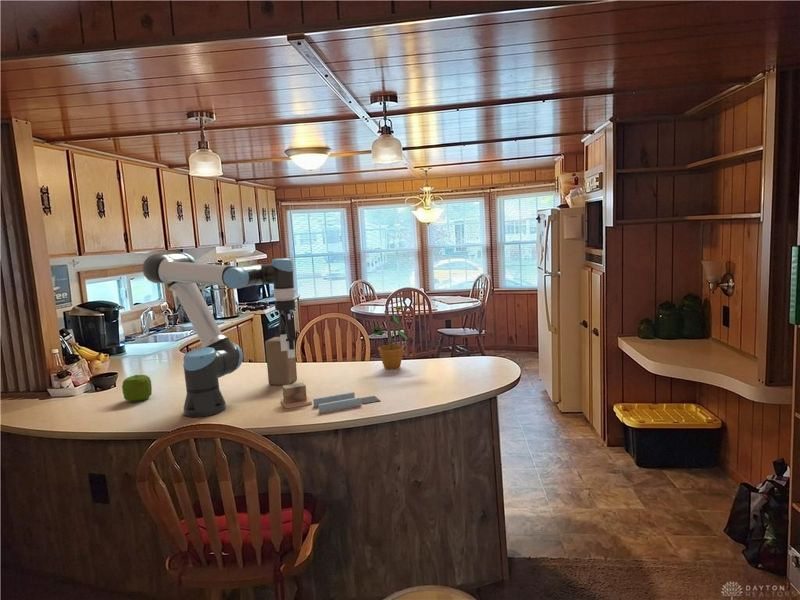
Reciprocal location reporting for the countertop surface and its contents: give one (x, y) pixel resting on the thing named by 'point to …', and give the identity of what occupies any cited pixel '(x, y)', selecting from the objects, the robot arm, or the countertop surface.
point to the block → (294, 393)
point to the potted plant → (391, 346)
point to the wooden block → (279, 364)
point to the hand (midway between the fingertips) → (288, 354)
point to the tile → (296, 403)
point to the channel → (337, 402)
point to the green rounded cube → (137, 388)
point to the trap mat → (369, 400)
